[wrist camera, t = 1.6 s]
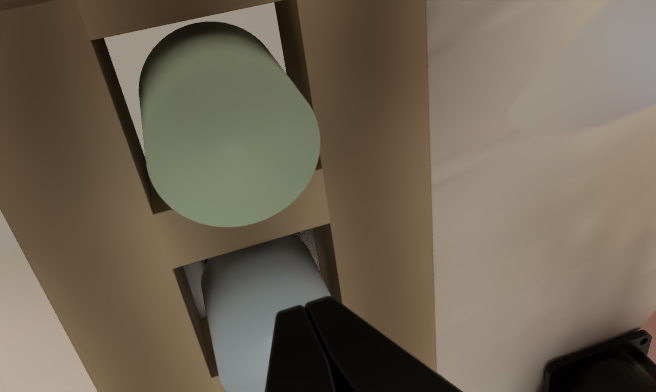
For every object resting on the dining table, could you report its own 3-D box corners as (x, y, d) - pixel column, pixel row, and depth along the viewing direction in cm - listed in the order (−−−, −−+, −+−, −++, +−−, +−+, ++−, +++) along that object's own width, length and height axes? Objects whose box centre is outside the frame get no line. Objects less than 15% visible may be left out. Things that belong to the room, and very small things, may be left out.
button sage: (267, 8, 16) (307, 50, 12) (290, 137, 18) (329, 201, 15) (119, 39, 15) (120, 93, 12) (162, 170, 17) (173, 246, 14)
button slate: (304, 215, 20) (342, 288, 16) (319, 300, 22) (356, 380, 18) (188, 248, 19) (203, 333, 16) (216, 333, 21) (234, 423, 18)
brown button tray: (378, -83, 17) (423, -72, 14) (410, 382, 28) (438, 432, 26) (-61, -1, 15) (-96, 29, 12) (167, 468, 26) (173, 532, 24)
